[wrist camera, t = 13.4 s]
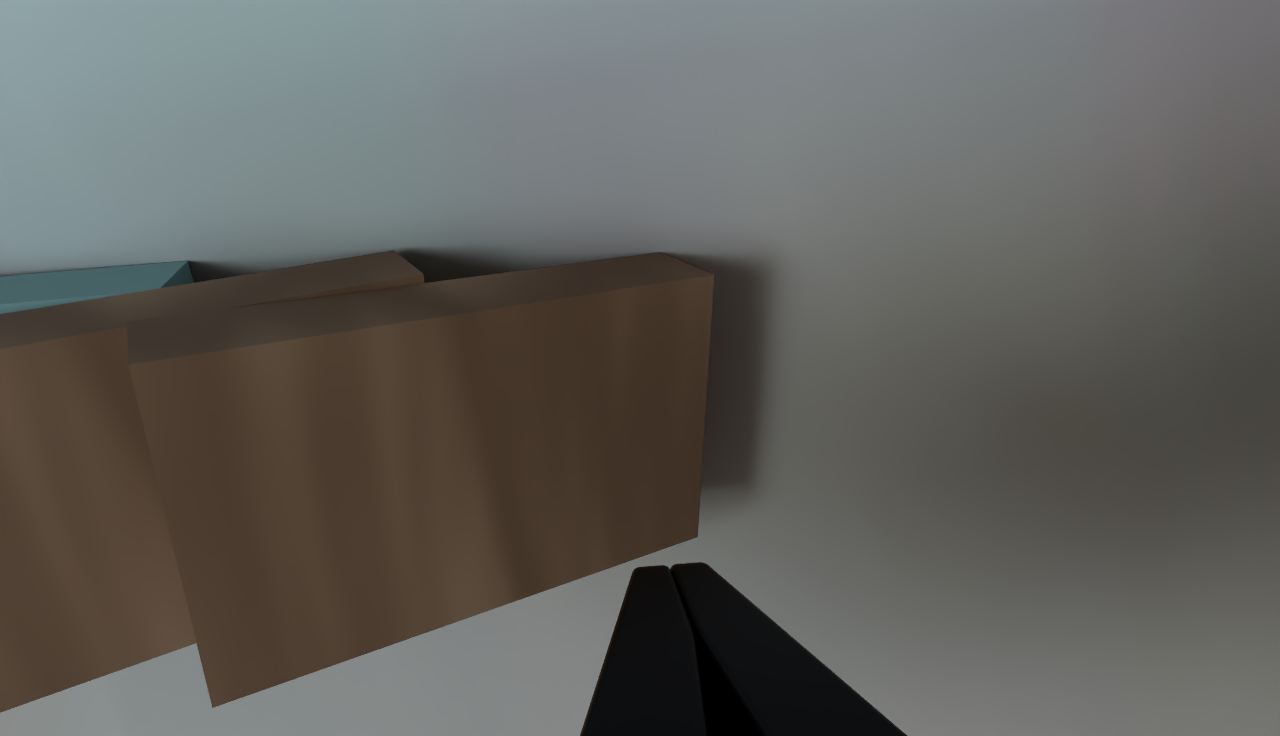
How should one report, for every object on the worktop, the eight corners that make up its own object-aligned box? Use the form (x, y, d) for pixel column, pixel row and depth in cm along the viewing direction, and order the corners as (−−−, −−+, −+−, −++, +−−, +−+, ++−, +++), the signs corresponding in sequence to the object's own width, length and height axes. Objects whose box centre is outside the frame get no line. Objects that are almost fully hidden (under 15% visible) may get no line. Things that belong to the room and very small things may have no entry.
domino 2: (714, 274, 13) (128, 364, 9) (697, 536, 14) (212, 707, 11) (660, 252, 14) (126, 321, 10) (650, 496, 16) (202, 635, 12)
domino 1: (423, 274, 12) (-353, 411, 8) (462, 548, 14) (-141, 762, 10) (393, 250, 13) (-289, 360, 9) (433, 505, 15) (-112, 680, 11)
